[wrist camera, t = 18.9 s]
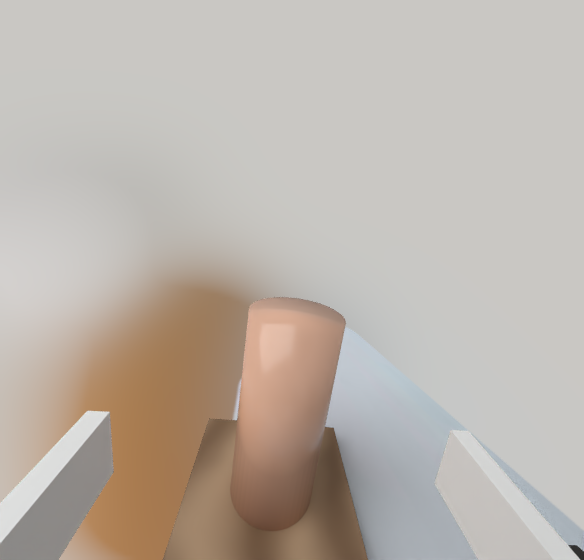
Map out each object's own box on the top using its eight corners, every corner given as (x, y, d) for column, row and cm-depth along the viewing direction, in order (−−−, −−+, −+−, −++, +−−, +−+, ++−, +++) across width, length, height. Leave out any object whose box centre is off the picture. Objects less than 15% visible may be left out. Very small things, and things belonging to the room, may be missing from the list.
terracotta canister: (306, 452, 27) (334, 302, 23) (316, 533, 20) (358, 340, 16) (236, 447, 26) (253, 293, 23) (222, 529, 20) (243, 328, 16)
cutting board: (331, 438, 31) (333, 427, 31) (372, 613, 18) (377, 597, 17) (208, 429, 30) (209, 418, 30) (151, 610, 16) (151, 593, 16)
